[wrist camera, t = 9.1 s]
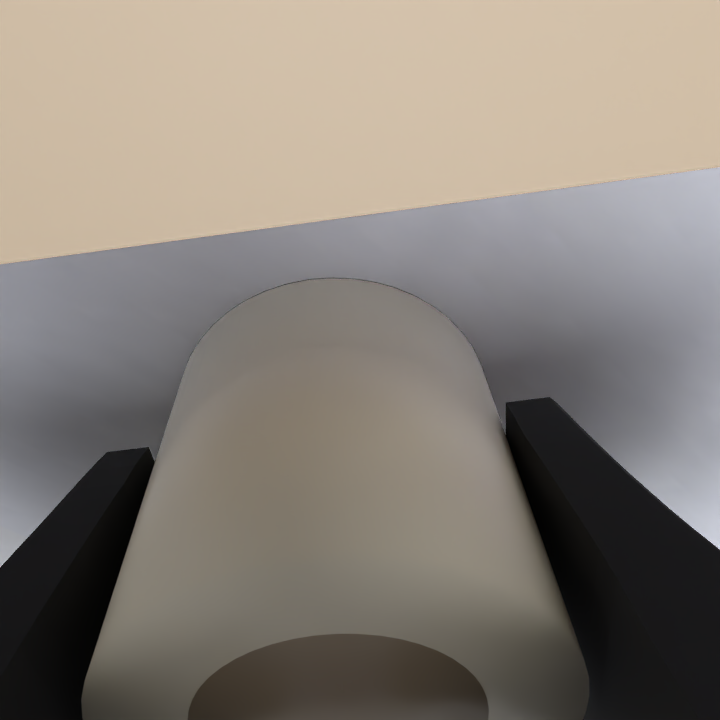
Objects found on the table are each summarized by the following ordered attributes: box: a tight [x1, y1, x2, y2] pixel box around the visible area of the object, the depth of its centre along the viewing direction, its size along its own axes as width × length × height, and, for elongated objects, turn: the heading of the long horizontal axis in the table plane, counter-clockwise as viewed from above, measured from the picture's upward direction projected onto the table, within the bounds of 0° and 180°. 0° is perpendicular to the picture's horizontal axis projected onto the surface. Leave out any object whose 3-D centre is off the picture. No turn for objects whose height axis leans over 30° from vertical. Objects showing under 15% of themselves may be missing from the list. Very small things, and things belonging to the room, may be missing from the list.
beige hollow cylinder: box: [81, 278, 589, 720], centre depth 9 cm, size 5×5×5 cm
